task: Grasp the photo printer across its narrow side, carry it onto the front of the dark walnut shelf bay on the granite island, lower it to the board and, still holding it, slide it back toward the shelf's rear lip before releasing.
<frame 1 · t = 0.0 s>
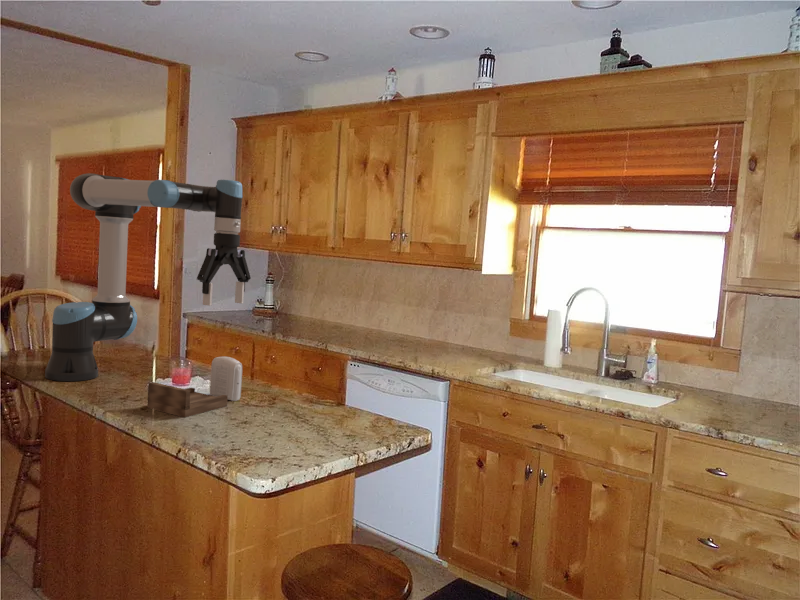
hand: (223, 304, 194), 28 cm above the worktop, fingers open, 13 cm apart
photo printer: (225, 398, 195), on the worktop
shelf: (188, 406, 181), on the worktop
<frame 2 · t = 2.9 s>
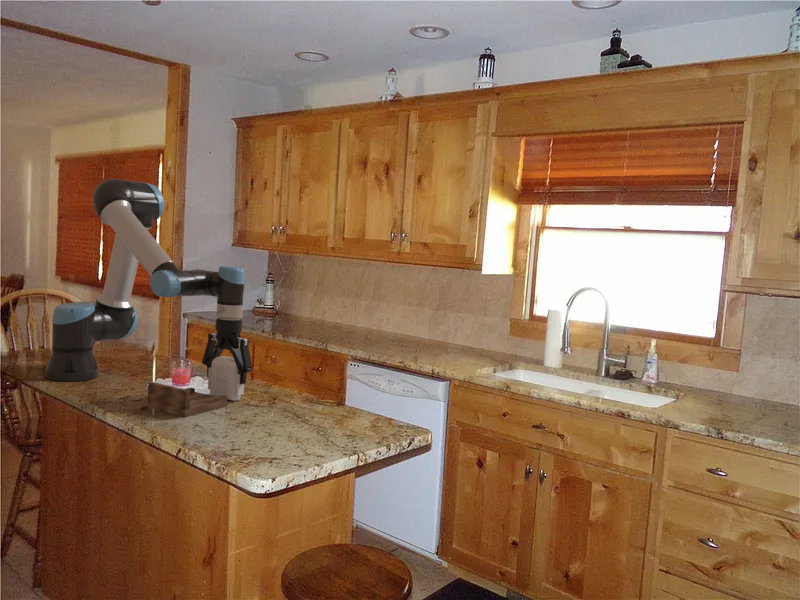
hand: (225, 391, 195), 2 cm above the worktop, fingers closed on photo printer, 10 cm apart
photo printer: (225, 398, 195), on the worktop, touching gripper
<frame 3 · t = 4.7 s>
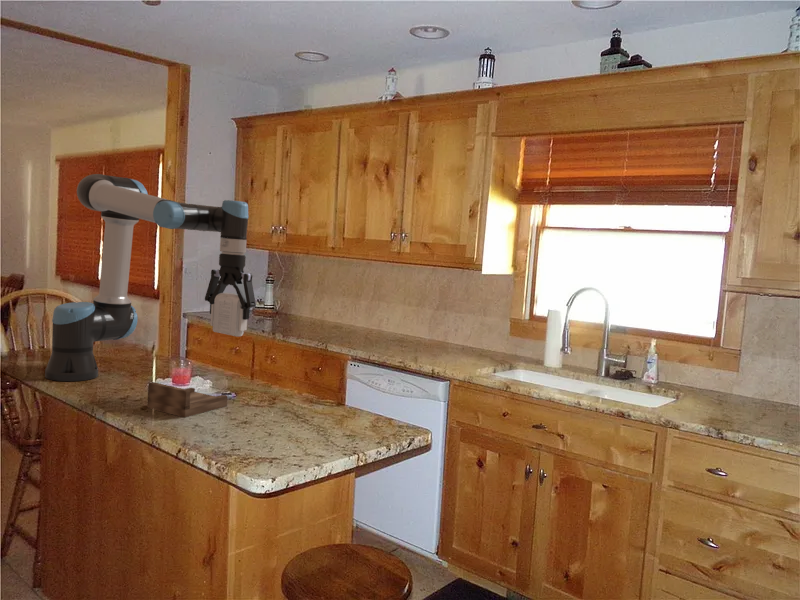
hand: (228, 327, 193), 21 cm above the worktop, fingers closed on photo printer, 10 cm apart
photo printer: (228, 334, 193), point 19 cm above the worktop, touching gripper
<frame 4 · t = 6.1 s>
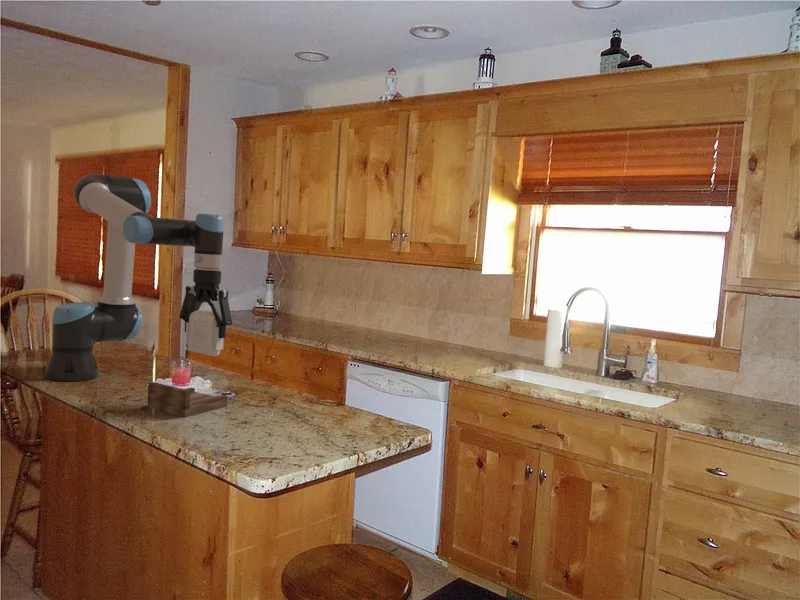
hand: (204, 346, 184), 17 cm above the worktop, fingers closed on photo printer, 10 cm apart
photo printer: (203, 354, 184), point 14 cm above the worktop, touching gripper
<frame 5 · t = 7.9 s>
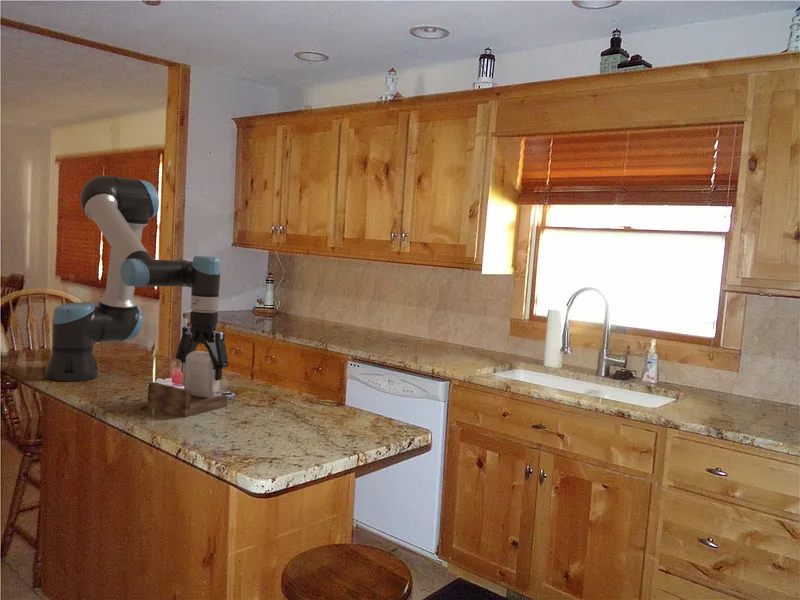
hand: (200, 387, 185), 5 cm above the worktop, fingers closed on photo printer, 10 cm apart
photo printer: (200, 394, 185), point 3 cm above the worktop, touching gripper
when the fingers open (5 cm above the worktop, at t = 9.6 s): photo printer stays where it is, resting on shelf.
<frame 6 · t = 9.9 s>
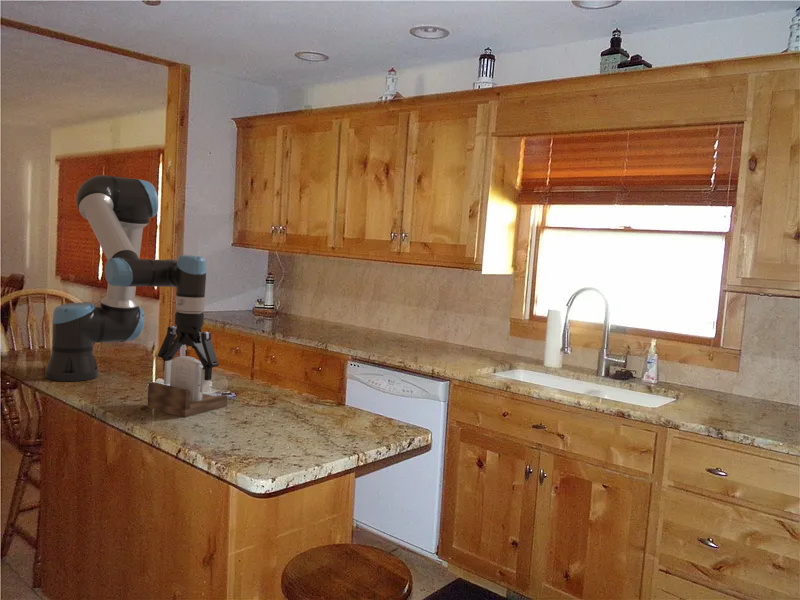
hand: (186, 387, 180), 6 cm above the worktop, fingers open, 13 cm apart
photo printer: (185, 401, 180), point 2 cm above the worktop, touching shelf
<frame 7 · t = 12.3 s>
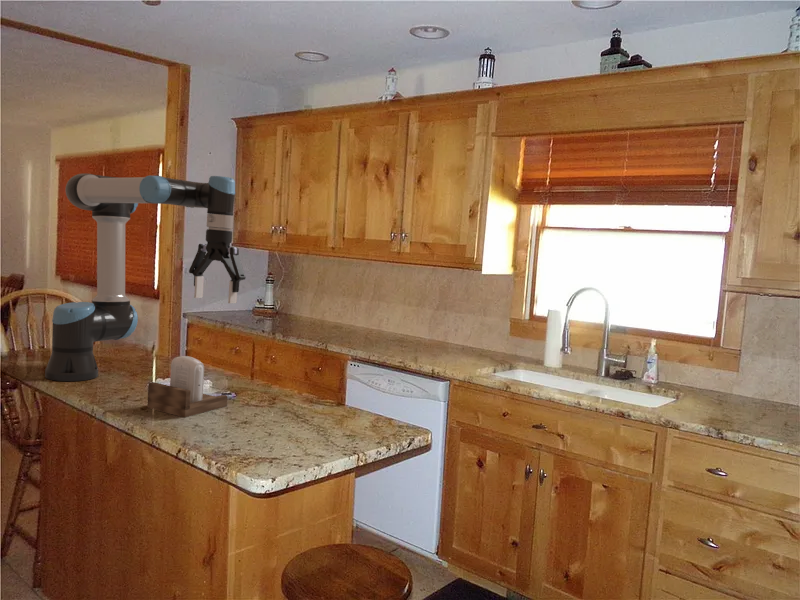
hand: (215, 300, 194), 29 cm above the worktop, fingers open, 13 cm apart
nothing on the worktop moved.
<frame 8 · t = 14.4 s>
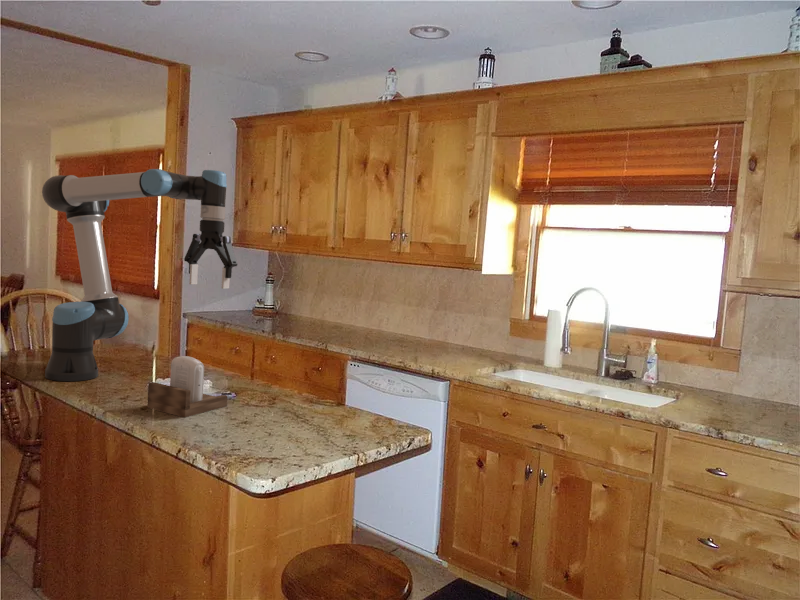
hand: (209, 286, 208), 32 cm above the worktop, fingers open, 13 cm apart
nothing on the worktop moved.
at the end: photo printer 0.3 cm off-centre on the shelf, point 1.8 cm above the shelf's base; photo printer tilted 0°; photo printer touching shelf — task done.
